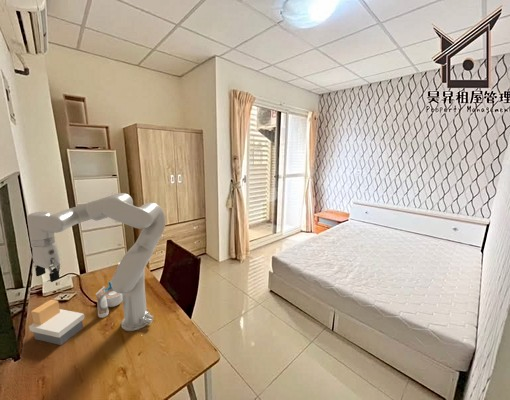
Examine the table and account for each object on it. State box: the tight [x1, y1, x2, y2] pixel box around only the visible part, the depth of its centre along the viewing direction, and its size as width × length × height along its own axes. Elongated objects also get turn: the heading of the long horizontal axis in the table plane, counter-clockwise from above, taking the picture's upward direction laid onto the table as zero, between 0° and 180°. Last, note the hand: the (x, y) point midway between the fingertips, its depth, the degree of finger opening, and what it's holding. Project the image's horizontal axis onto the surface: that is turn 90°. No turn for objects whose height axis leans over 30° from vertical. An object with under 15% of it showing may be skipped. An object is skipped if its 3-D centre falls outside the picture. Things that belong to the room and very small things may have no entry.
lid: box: [28, 299, 85, 338], centre depth 101 cm, size 15×11×8 cm
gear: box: [105, 281, 112, 292], centre depth 132 cm, size 11×6×10 cm
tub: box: [33, 320, 84, 346], centre depth 102 cm, size 14×10×6 cm
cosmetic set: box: [95, 261, 123, 318], centre depth 121 cm, size 25×9×19 cm, turn 1°
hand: (47, 277), depth 100 cm, fingers open, 9 cm apart
